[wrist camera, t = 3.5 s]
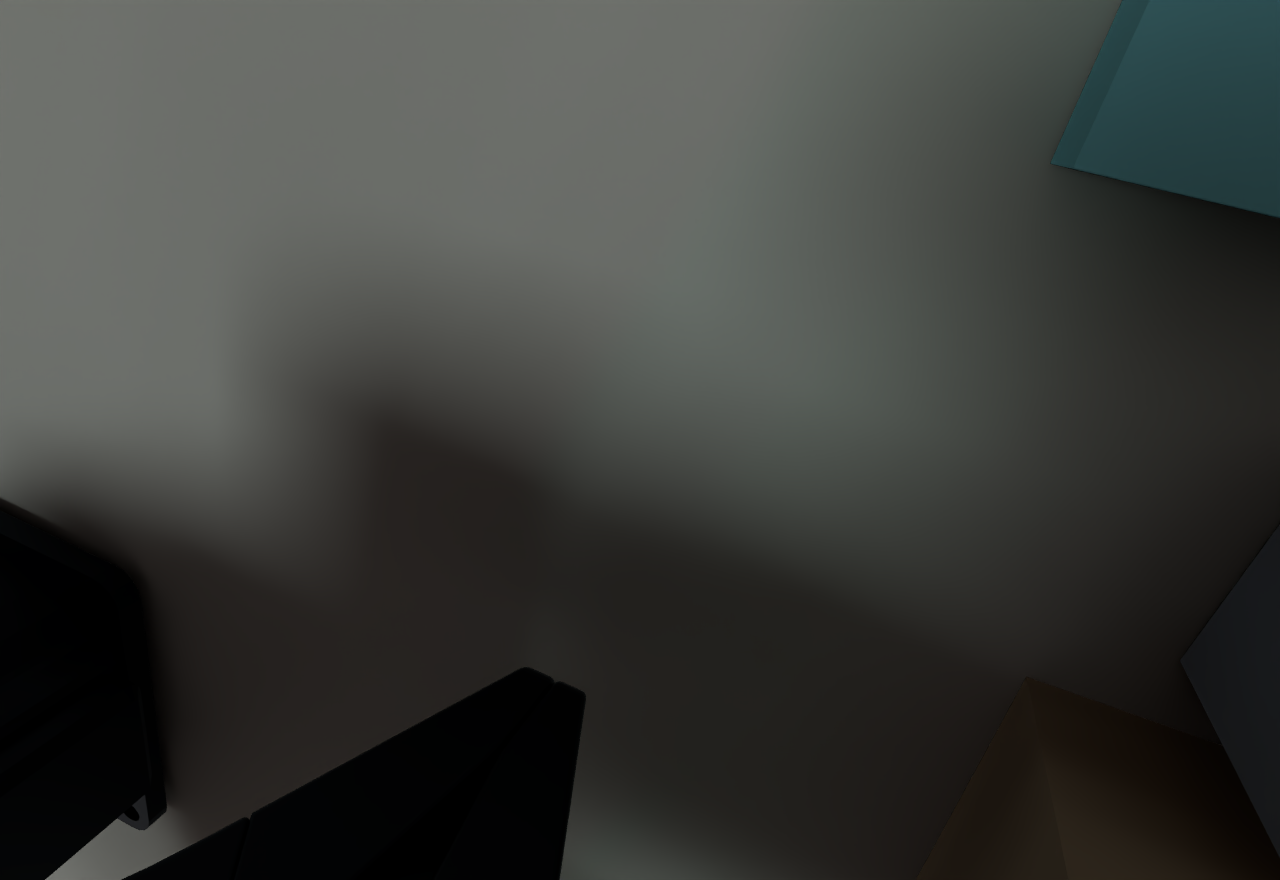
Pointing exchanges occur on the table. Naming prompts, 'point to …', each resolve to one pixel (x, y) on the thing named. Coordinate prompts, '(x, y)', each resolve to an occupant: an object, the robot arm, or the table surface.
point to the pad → (1185, 102)
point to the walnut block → (1099, 802)
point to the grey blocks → (1246, 681)
